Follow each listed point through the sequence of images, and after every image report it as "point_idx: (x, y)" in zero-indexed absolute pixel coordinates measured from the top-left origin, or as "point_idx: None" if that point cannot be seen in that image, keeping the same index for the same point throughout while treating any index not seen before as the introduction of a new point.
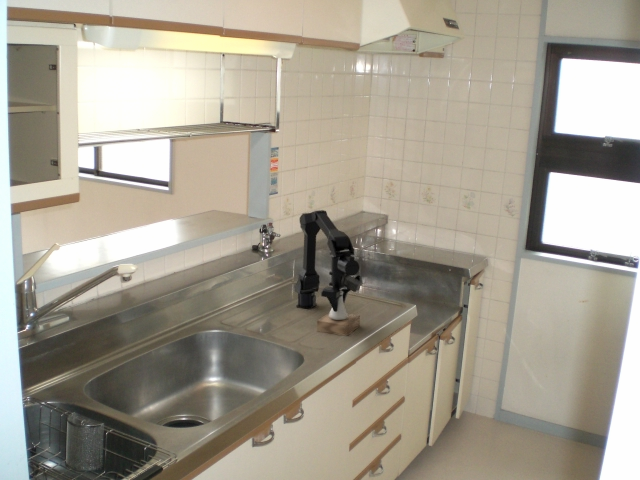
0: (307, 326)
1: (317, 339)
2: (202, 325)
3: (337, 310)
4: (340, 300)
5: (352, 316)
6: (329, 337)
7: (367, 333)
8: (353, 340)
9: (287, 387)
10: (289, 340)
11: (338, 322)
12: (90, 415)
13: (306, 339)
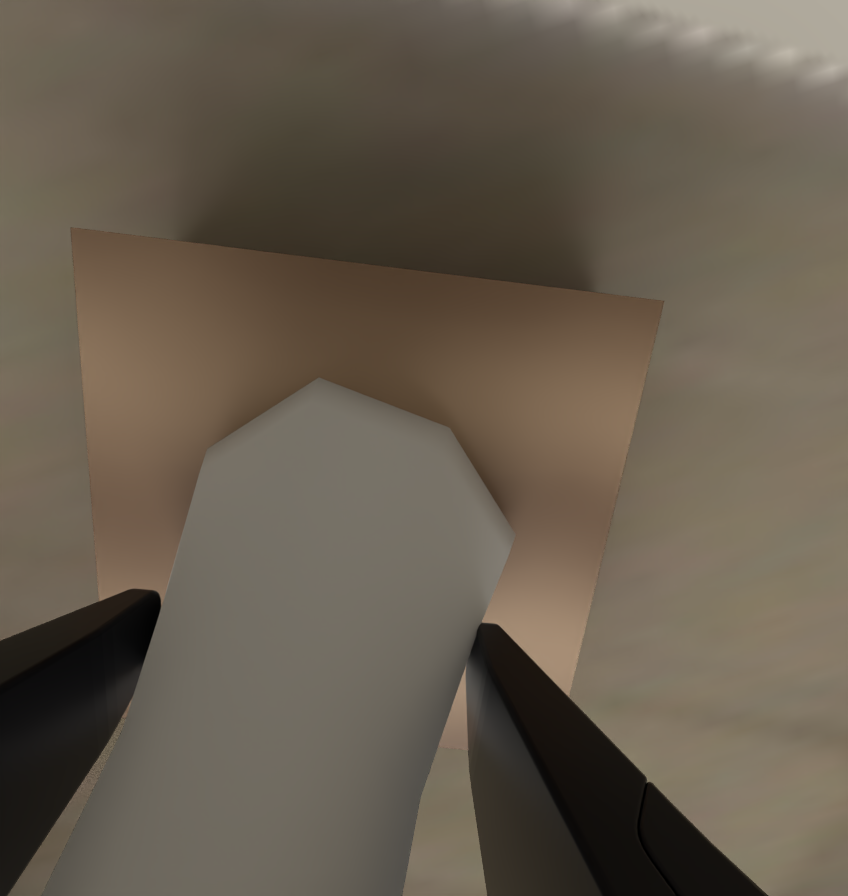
0: (432, 767)
1: (774, 576)
2: None
3: (471, 625)
4: (343, 821)
5: (172, 351)
6: (689, 481)
7: (412, 39)
8: (734, 161)
9: None
10: (841, 783)
11: (550, 477)
12: None
13: (791, 668)
